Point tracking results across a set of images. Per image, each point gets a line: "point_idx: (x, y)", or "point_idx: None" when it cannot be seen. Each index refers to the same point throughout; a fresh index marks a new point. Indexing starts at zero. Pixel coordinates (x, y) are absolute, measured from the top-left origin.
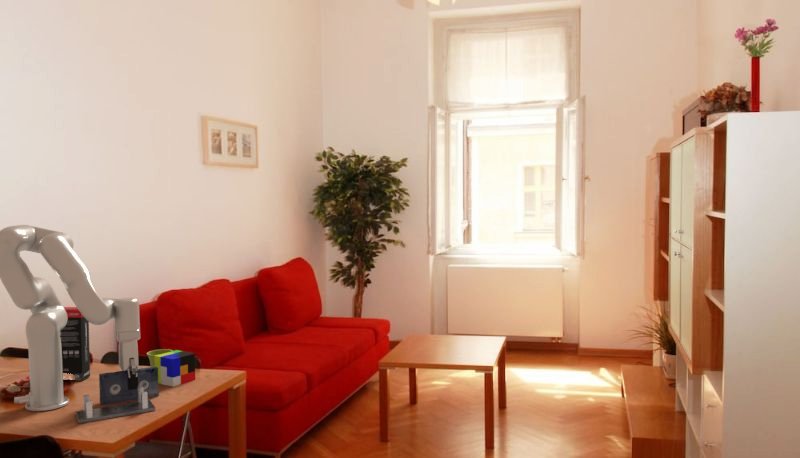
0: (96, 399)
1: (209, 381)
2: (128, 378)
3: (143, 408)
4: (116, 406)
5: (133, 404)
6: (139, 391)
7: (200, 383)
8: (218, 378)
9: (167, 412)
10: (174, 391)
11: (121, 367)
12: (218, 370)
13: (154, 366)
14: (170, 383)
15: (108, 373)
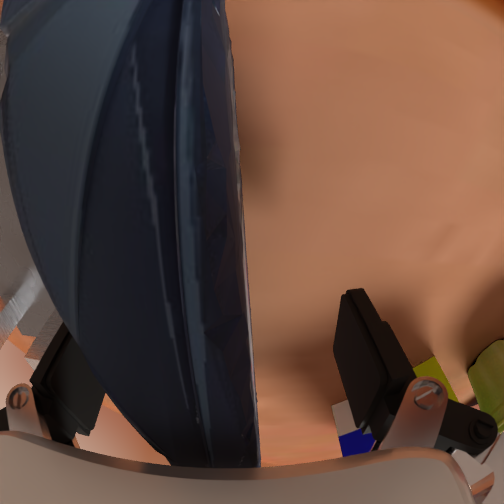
0: (349, 50)
1: (311, 453)
2: (34, 383)
3: (2, 299)
4: None
5: None
6: (37, 347)
7: (307, 444)
8: (323, 459)
9: (18, 346)
10: (260, 409)
11: (58, 489)
12: None
13: (501, 374)
14: (349, 408)
15: (129, 190)
